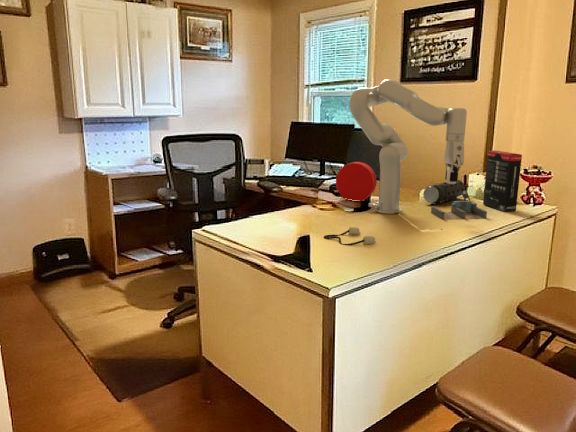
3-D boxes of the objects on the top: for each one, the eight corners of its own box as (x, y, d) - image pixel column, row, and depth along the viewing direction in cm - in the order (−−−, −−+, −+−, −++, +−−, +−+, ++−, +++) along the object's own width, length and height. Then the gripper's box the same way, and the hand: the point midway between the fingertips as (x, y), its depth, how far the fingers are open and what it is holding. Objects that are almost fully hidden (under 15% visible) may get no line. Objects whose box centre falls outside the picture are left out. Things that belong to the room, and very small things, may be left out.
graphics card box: (517, 211, 223) (523, 153, 216) (504, 212, 221) (510, 153, 215) (493, 204, 239) (499, 149, 233) (481, 205, 237) (486, 150, 231)
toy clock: (375, 201, 246) (377, 162, 241) (372, 203, 241) (374, 164, 236) (338, 198, 254) (339, 160, 249) (335, 200, 249) (336, 162, 244)
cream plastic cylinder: (448, 183, 204) (450, 165, 202) (444, 182, 208) (446, 164, 206) (457, 183, 205) (459, 165, 203) (453, 182, 208) (455, 164, 207)
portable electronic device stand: (476, 212, 222) (478, 194, 221) (459, 210, 225) (460, 193, 223) (476, 208, 231) (477, 191, 229) (458, 207, 233) (460, 190, 231)
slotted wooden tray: (442, 221, 204) (443, 208, 202) (429, 214, 217) (430, 201, 216) (487, 221, 205) (488, 207, 204) (472, 213, 219) (473, 200, 218)
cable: (338, 249, 167) (338, 240, 166) (320, 237, 182) (321, 228, 181) (377, 245, 172) (378, 236, 171) (357, 234, 187) (358, 225, 186)
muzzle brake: (464, 199, 252) (466, 180, 249) (438, 207, 232) (440, 186, 230) (447, 197, 258) (449, 178, 256) (421, 204, 239) (422, 184, 237)
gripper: (472, 139, 194) (468, 183, 198) (455, 136, 210) (451, 177, 214) (454, 139, 193) (450, 183, 198) (438, 136, 210) (435, 177, 214)
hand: (451, 180), depth 206 cm, fingers closed on cream plastic cylinder, 4 cm apart
